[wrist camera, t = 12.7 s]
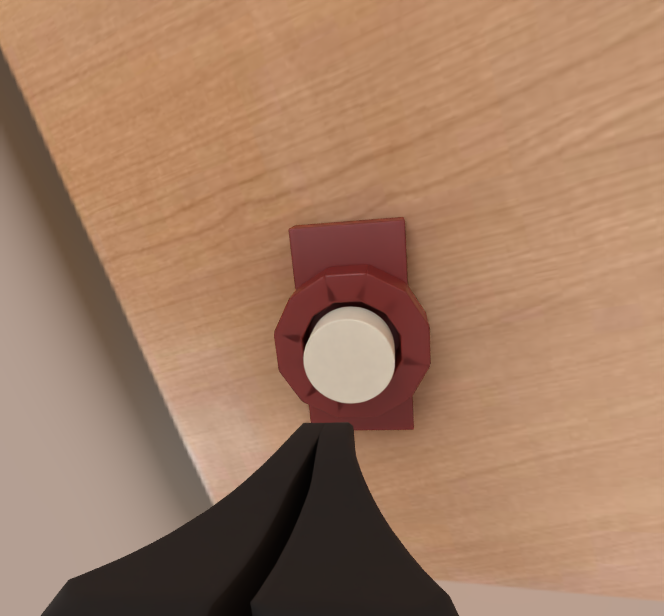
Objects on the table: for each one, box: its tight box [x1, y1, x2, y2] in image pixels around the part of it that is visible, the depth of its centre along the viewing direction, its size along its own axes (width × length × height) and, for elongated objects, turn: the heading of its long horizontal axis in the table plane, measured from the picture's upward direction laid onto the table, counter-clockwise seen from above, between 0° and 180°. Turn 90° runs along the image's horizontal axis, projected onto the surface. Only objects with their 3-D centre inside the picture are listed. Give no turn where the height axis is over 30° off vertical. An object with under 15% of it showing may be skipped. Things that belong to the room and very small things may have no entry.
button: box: [303, 306, 395, 403], centre depth 19 cm, size 4×4×2 cm
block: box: [274, 217, 431, 430], centre depth 20 cm, size 10×6×3 cm, turn 5°
